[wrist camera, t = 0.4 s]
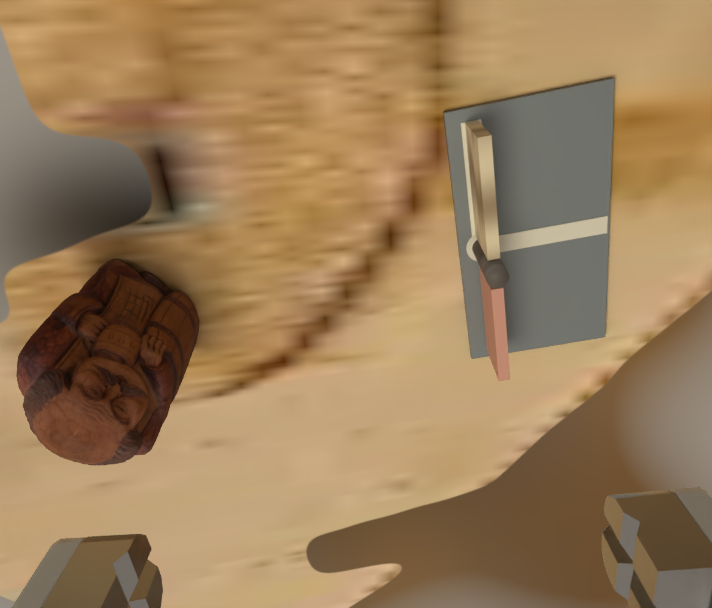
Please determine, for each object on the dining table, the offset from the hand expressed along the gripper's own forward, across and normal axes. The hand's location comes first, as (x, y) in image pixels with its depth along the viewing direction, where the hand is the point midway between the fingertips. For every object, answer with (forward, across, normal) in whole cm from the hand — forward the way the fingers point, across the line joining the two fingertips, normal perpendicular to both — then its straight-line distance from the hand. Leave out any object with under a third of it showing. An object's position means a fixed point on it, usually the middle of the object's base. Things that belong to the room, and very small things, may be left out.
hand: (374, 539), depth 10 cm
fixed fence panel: (+39, -9, +3) cm, 40 cm away
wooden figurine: (+40, +21, +11) cm, 47 cm away
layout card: (+40, -14, +8) cm, 43 cm away
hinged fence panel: (+40, -10, +14) cm, 44 cm away
